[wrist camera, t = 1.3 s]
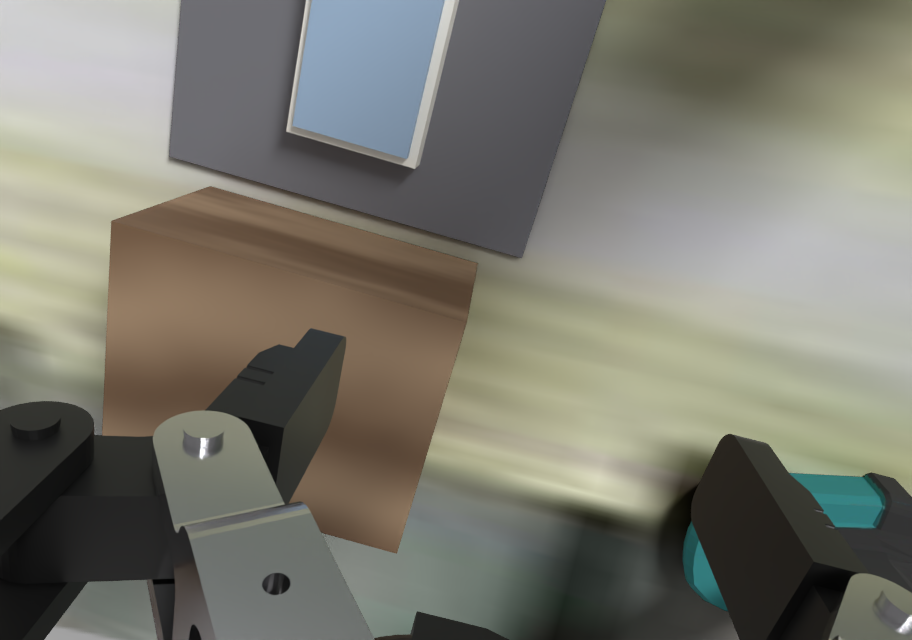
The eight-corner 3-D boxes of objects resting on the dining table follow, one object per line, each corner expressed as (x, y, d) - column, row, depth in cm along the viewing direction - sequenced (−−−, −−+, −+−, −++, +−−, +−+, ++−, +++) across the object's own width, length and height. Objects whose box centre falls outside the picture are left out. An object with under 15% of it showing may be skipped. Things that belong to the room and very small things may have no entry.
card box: (336, -118, 24) (321, -135, 23) (477, -76, 24) (474, -89, 23) (297, 129, 28) (282, 132, 26) (419, 164, 28) (413, 170, 26)
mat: (201, -187, 24) (196, -191, 24) (624, -60, 25) (626, -62, 24) (173, 155, 30) (168, 156, 29) (521, 256, 30) (521, 258, 30)
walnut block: (210, 186, 30) (111, 220, 23) (477, 263, 30) (466, 322, 23) (188, 387, 35) (100, 471, 27) (421, 453, 35) (396, 553, 27)
